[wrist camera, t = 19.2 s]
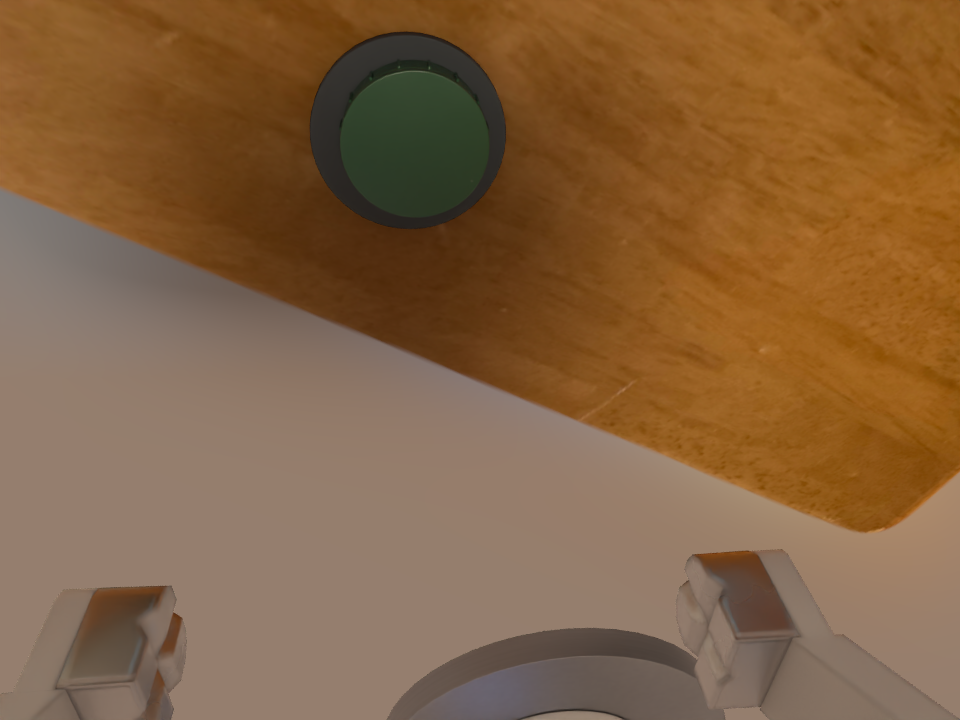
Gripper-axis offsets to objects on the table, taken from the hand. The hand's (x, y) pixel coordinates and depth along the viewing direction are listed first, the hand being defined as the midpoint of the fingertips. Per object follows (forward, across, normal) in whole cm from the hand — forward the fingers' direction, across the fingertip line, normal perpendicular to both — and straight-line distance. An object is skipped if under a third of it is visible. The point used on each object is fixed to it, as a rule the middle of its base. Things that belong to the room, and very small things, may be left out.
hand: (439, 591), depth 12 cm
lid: (+21, 0, 0) cm, 21 cm away
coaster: (+23, 0, 0) cm, 23 cm away
